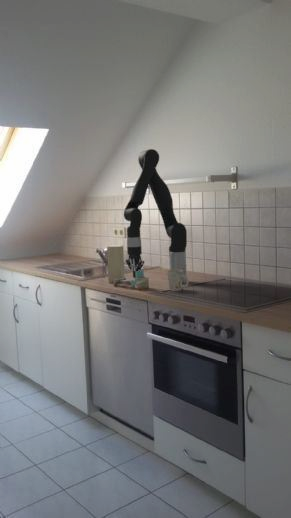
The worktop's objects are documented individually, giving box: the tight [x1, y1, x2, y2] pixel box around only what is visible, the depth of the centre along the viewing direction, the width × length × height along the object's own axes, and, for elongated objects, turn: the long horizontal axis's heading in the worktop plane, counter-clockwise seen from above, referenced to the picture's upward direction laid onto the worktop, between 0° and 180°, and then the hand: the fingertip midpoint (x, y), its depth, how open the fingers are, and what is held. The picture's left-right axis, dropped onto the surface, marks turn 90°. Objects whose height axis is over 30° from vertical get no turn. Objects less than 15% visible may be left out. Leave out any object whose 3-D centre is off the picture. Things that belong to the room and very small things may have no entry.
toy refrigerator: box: [106, 244, 126, 284], centre depth 295 cm, size 8×7×21 cm
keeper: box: [130, 269, 145, 286], centre depth 273 cm, size 5×5×8 cm
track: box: [113, 275, 150, 291], centre depth 277 cm, size 20×8×6 cm, turn 42°
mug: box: [166, 269, 190, 292], centre depth 261 cm, size 8×13×10 cm, turn 51°
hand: (135, 277), depth 274 cm, fingers closed
